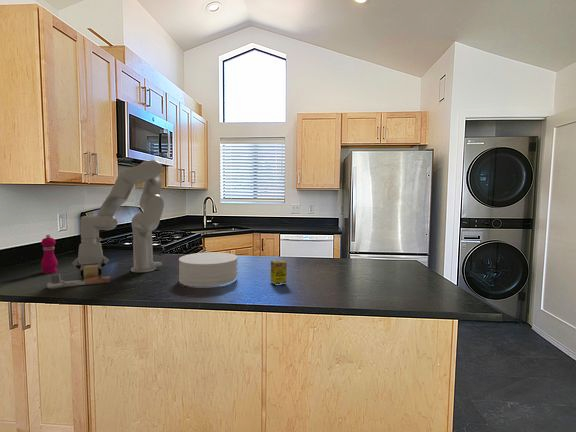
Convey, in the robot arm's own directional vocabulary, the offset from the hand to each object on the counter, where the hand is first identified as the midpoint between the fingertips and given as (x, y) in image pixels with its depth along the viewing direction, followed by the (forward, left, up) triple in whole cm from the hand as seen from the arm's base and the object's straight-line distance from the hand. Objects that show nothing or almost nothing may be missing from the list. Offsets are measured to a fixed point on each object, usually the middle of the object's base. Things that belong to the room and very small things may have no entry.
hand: (91, 276), depth 156 cm
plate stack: (-51, +28, -1) cm, 58 cm away
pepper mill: (+20, -23, -1) cm, 30 cm away
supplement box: (-79, +49, -1) cm, 93 cm away
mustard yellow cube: (0, 0, -1) cm, 1 cm away
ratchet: (+5, +9, -1) cm, 10 cm away
